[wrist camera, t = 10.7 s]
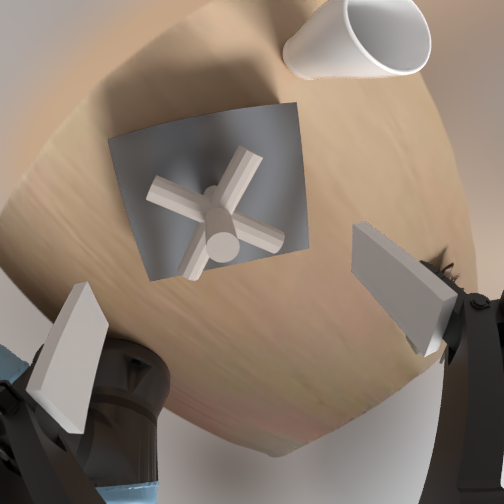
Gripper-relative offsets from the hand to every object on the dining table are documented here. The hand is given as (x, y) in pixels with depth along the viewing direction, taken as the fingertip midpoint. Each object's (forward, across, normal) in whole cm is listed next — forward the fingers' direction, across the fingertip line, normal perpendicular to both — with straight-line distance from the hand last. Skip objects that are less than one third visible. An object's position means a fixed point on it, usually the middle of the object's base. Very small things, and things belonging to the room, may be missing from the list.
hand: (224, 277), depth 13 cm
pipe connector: (+13, 0, 0) cm, 13 cm away
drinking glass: (+18, +12, +12) cm, 25 cm away
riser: (+18, +1, 0) cm, 18 cm away
